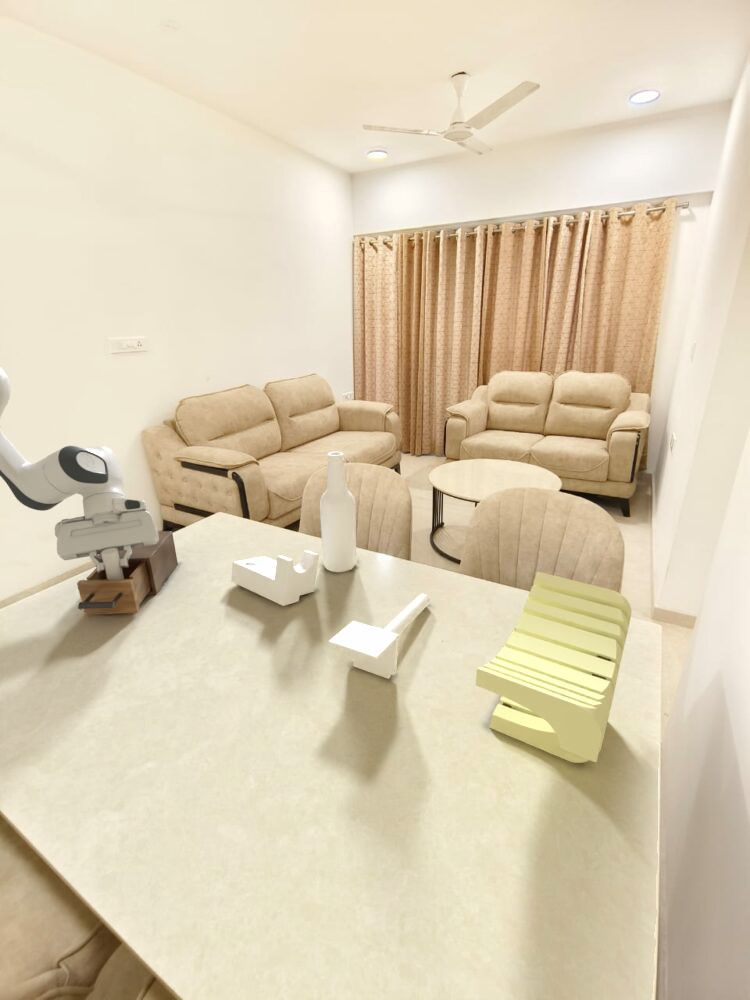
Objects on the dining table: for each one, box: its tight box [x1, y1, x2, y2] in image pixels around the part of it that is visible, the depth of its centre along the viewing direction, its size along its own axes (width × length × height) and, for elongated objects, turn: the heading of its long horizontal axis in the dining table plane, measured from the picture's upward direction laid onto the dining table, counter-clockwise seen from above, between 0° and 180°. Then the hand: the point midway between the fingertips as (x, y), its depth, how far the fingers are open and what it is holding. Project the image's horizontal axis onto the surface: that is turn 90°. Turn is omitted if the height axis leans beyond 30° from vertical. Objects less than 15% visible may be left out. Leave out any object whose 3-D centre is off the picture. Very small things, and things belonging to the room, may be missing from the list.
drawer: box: [76, 561, 152, 615], centre depth 112 cm, size 18×11×8 cm, turn 1°
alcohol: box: [319, 451, 358, 573], centre depth 124 cm, size 9×9×30 cm
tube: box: [101, 548, 124, 580], centre depth 110 cm, size 3×3×9 cm
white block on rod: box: [328, 593, 431, 680], centre depth 98 cm, size 9×9×32 cm
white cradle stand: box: [230, 549, 320, 607], centre depth 119 cm, size 18×10×10 cm, turn 53°
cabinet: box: [94, 530, 179, 595], centre depth 123 cm, size 15×13×10 cm
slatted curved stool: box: [475, 571, 632, 764], centre depth 78 cm, size 30×16×18 cm, turn 148°
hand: (113, 569), depth 110 cm, fingers closed on tube, 3 cm apart
